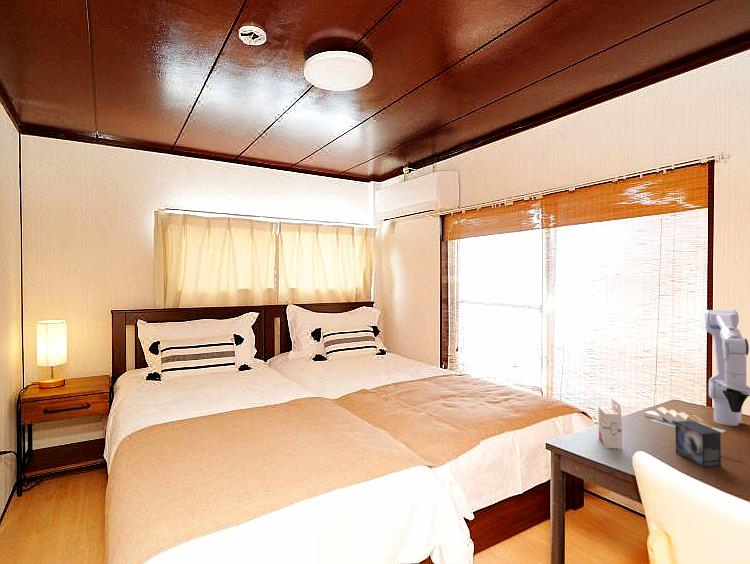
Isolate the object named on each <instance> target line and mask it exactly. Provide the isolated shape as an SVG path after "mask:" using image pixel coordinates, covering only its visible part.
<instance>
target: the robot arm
mask: <svg viewBox="0 0 750 564" xmlns="http://www.w3.org/2000/svg"><path fill="white" fill-rule="evenodd" d="M739 321H740V320H739V312H738V311H737V310H722V309H721V310H720V309H719V310H717V309H716V310H715V309H713V310H712V309H707V310H705V312H704V324H705V325H704V326H705V330H706V332H707V333H709V334H711V336H712V339H713V347H714V355H715V356H714V357H715V366H716V368H715V369H716V374H715V375H713V376H711V377H710V378H709V379H708V396H709V397H710V398H711V399H712V400H713V422H714V423H717V424H720V425H722V426H723V425H724V426H728V427H729V426H732V427H733V426H735V427H737V426H739V424H743V418H742V416H743V415H742V414H743V413H742V412H743V410H742V409H743V408H742V407H743V405H744V403H745V401H746V400H747V398H749V397H750V386H749V385H748V384H747V356H749V351H750V343H749V341H748V339H747V338H746V337H743V336H742V333H741V331H740V330H739V329H738V325H739Z"/></svg>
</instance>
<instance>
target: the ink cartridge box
mask: <svg viewBox="0 0 750 564" xmlns="http://www.w3.org/2000/svg"><path fill="white" fill-rule="evenodd" d="M611 403H612V406H600V405H599V406H598V439H599V441H600V440H601V441H600V442H601V443H602V445H603V446H604V445H605V446H606V447H605V446H604V447H605V449H610V448H619V449H618V450H622V449H623V440H622V439H623V438H622V437H623V436H622V435H623V434H622V431H623V430H622V429H623V428H622V427H623V426H622V410H621V404H619V403H618V401H616V400H615V399H614V398H611Z"/></svg>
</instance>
